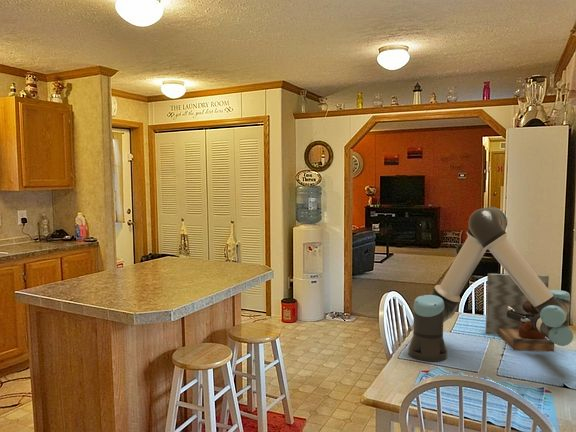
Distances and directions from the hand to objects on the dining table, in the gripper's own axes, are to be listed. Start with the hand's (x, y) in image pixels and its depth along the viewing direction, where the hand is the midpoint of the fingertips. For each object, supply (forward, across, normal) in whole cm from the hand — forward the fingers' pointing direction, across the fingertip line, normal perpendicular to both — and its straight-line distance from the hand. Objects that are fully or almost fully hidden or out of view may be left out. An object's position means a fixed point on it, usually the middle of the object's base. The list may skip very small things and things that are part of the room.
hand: (524, 309), depth 206 cm
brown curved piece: (-2, +3, -11) cm, 11 cm away
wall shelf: (-2, 0, -14) cm, 14 cm away
